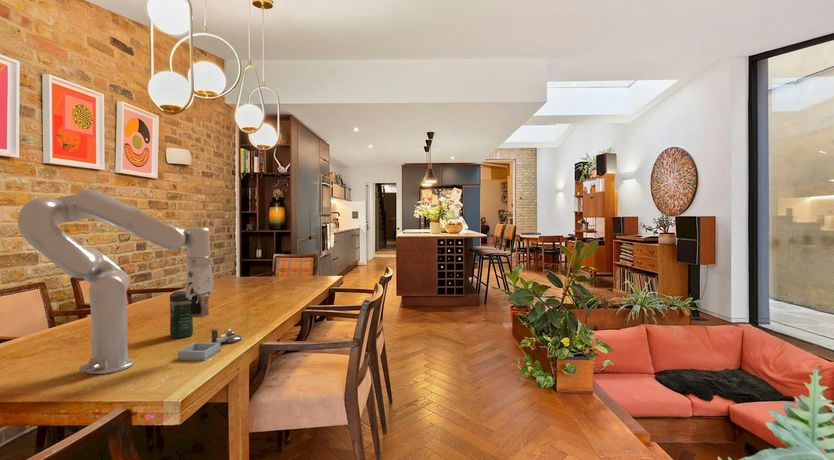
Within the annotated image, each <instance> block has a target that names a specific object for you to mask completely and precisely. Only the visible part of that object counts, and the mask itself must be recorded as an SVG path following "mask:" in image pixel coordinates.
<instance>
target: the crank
mask: <svg viewBox="0 0 834 460" xmlns="http://www.w3.org/2000/svg"><path fill="white" fill-rule="evenodd" d="M220 331H221V329H220V328H214V327H210V328H209V332H211V340H210V341H209V343H220V344H223V343H222V342H224V341H226V340H229V339H231V338H233V337H235V335H236V332H235V330H231V331H229V332H227V335H225V334H224V335H225V336H222V337H221V336H220V337H219V332H220Z"/></svg>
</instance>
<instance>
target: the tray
mask: <svg viewBox="0 0 834 460" xmlns="http://www.w3.org/2000/svg"><path fill="white" fill-rule="evenodd" d="M219 352H221V343H210V342H193V343H191V344H189V345H187V346H184V347H183V348H181V349H179V350H177V360H179V361H180V360H181V361H184V360H185V361H206V360H208V359H210V358H212V357H213V356H215V355H216V354H219Z"/></svg>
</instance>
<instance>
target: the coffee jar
mask: <svg viewBox="0 0 834 460" xmlns="http://www.w3.org/2000/svg"><path fill="white" fill-rule="evenodd" d="M169 307H170V309H169V318H170V320H169V334H170V337H172V338H176V339H177V338H178V339H179V338H181V339H182V338H187V337H190V336H192V335H193V334H194V323H193V321H194V317H191V303H190V301H189V299H188V298H186V290H177V291H173V292H172V293H171V294H170V296H169Z"/></svg>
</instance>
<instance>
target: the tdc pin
mask: <svg viewBox="0 0 834 460" xmlns="http://www.w3.org/2000/svg"><path fill="white" fill-rule="evenodd" d="M229 331H232V330H231V328H226V329H225V331H224V332H225V333H224V335H227V332H229Z"/></svg>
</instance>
